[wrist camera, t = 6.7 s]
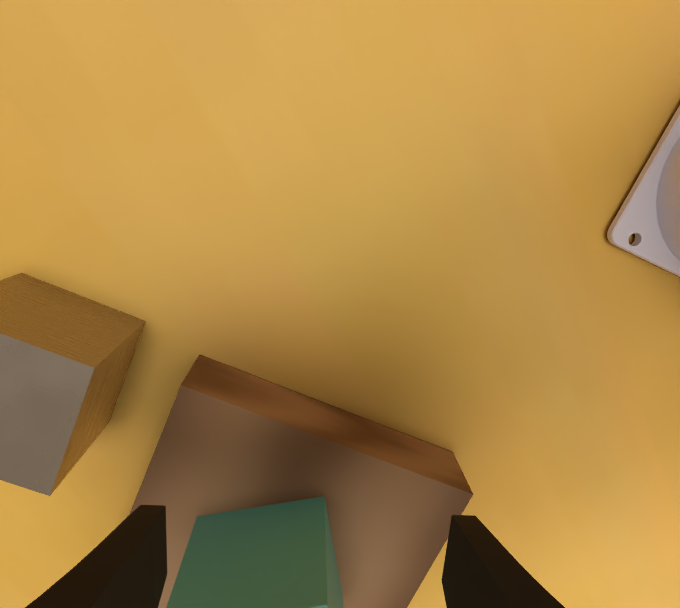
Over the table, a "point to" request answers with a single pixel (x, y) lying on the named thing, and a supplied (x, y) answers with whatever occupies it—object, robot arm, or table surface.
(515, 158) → the table surface
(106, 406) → the steel cube
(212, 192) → the table surface
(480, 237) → the table surface
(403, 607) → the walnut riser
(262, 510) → the teal cube
